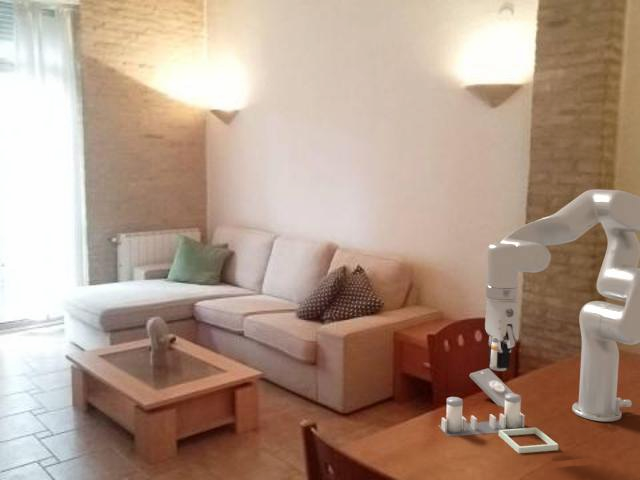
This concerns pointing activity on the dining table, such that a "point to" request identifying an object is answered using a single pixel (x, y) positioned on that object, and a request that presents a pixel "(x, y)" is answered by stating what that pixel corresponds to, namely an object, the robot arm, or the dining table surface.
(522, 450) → the tray
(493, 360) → the cylinder
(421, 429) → the dining table surface
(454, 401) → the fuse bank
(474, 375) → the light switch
